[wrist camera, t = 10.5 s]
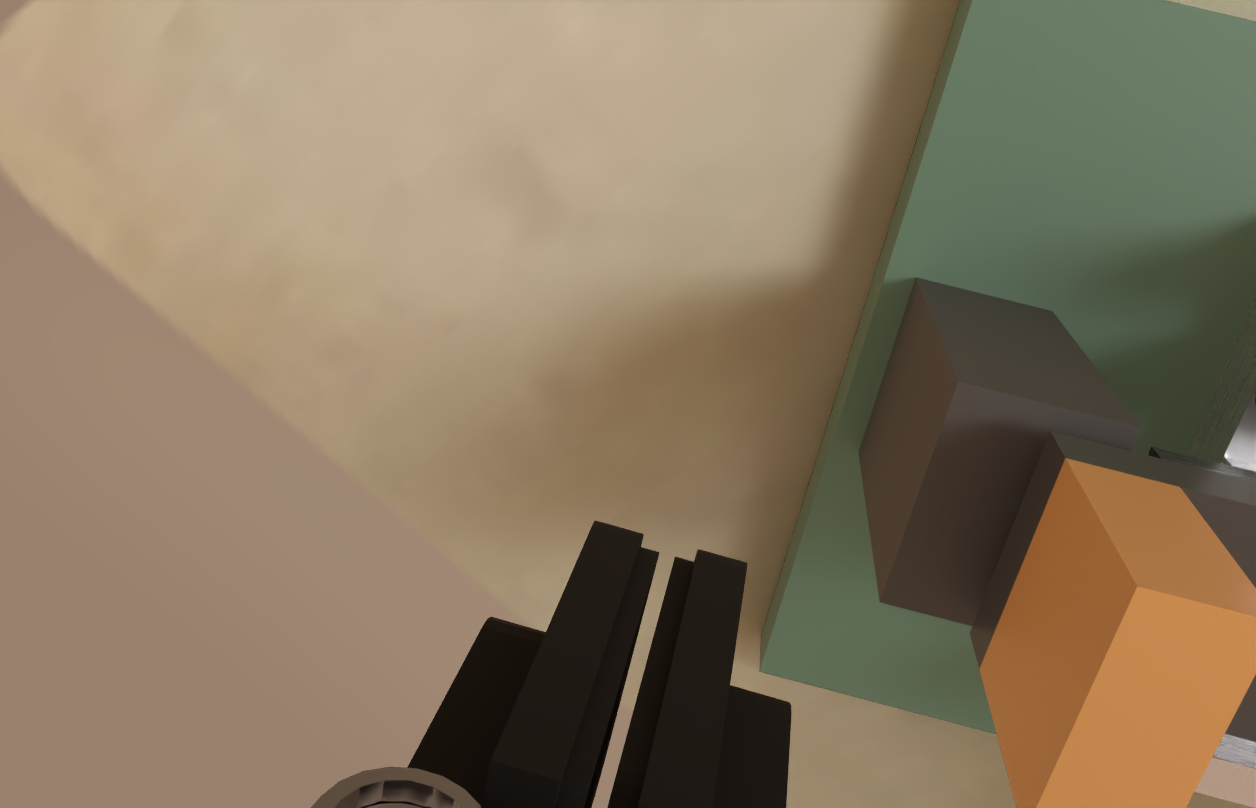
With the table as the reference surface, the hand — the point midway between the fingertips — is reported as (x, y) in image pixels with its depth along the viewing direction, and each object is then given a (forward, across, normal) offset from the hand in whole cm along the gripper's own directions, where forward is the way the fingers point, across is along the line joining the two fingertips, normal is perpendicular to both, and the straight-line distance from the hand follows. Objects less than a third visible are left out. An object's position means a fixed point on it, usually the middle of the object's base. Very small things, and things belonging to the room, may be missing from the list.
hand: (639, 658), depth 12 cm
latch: (+6, -7, 0) cm, 9 cm away
